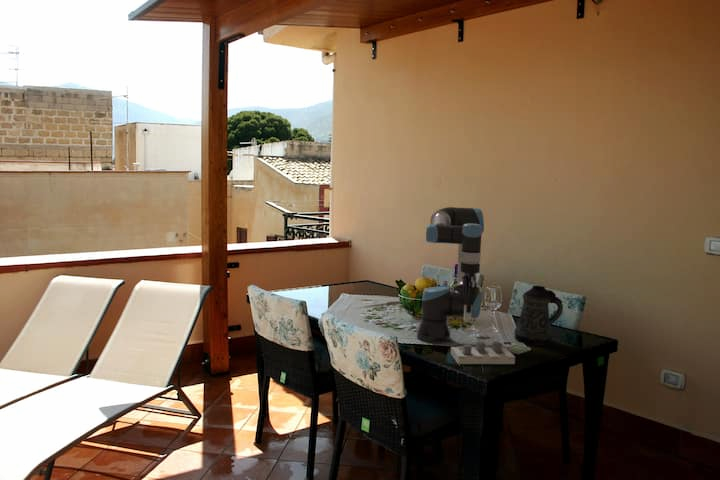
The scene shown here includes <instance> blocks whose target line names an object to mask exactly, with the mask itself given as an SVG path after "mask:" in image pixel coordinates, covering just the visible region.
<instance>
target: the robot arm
mask: <svg viewBox="0 0 720 480" xmlns="http://www.w3.org/2000/svg"><path fill="white" fill-rule="evenodd" d="M429 222H430V224H427V225H426V232H425V236H426V237H425V241H426V242H427V243H432V244H451V245H458V249H457V251H458V252H457V253H458V254H457V279H456V280H457V281H456V284H455V286H453V290H450V289H449V287H447V286H443V285H442V286H431V287H426V288H425V289H424V290H423V292H422V298H421V302H422V303H421V304H422V305H421V319H420V320H421V321H420V323H419V326H418V329H417V332H416V338H417V339H418V340H420V341H424V342H428V343H436V344H437V343H447V342H449V341H450V340H451V331H450V328H449V327H450V326H449V324H448V317H449V318H461V319H462V318H463V321H472V319H477V318H478V317H480V313H481V308H482V301H483V295H484V294H483V292H481V290H480V287H479V286H478V284H477V274H479V273H480V269H481V268H480V267H481V256H482V255H481V249H482V236H483V233H484V232H485V225H484V223H485V221H484V213H483V211H482V209H481V208H474V207H455V206H454V207H453V206H450V207H449V206H448V207H443V208H441V209H438V210H436V211H434V213H432V215H431V217H430V221H429Z"/></svg>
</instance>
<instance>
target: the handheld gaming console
mask: <svg viewBox="0 0 720 480" xmlns="http://www.w3.org/2000/svg"><path fill="white" fill-rule="evenodd" d="M497 342H501V343H502V347H505V348H506V349H507V350H508V351H509V352H511V353H512V354H514V355H520V354H523V353H526V352H530V351H531V350H532V348H531V347H528V346H525V345H522V344H518V343H514V342H511V341H507V340H503V339H502V340H499V341H497ZM491 345H492V346H491ZM490 346H491V347H493V342H491V344H490Z"/></svg>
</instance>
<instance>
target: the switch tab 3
mask: <svg viewBox="0 0 720 480" xmlns="http://www.w3.org/2000/svg"><path fill="white" fill-rule="evenodd" d="M492 343H493V346H492V347H493V350H494V351H495V352H496V353H502V351H501V350H502V343H501V342H498V341H492Z"/></svg>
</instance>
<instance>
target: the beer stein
mask: <svg viewBox="0 0 720 480" xmlns="http://www.w3.org/2000/svg"><path fill="white" fill-rule="evenodd" d="M522 300H523V302H522V307H521V311H520V315H519V318H518V322H517V325H516V326H515V329H514V339H515V341H516V342H519V343H522V344H525V345H530V346H546V345H549V344H550V343H551V341H552V336H553V335H552V332H551V327H550V326H552V324H554V323H555V322H556V321H557V320H558V319H559V318H560V317H561V315H562V313H563V309H564V305H563V301H562V299H560V298H559V297H558V296H556V293H555V292H554V291H553V290H549V289H546V287H545V286H543V285H533V286H532V287H531V288H530V289H528V290H527V291H525V292H524V293H523V294H522ZM549 304H555V305H556V306H557V310H556V311H555V312H554V314H553V315H552V316H550V309H549Z"/></svg>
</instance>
